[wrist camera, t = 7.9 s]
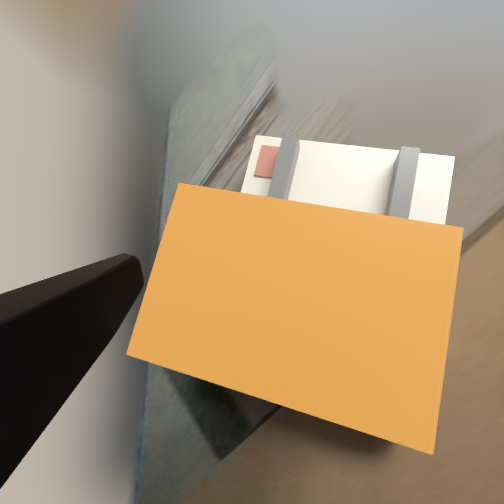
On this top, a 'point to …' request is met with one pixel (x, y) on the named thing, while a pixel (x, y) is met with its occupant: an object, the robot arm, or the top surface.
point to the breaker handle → (305, 308)
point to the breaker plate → (351, 177)
